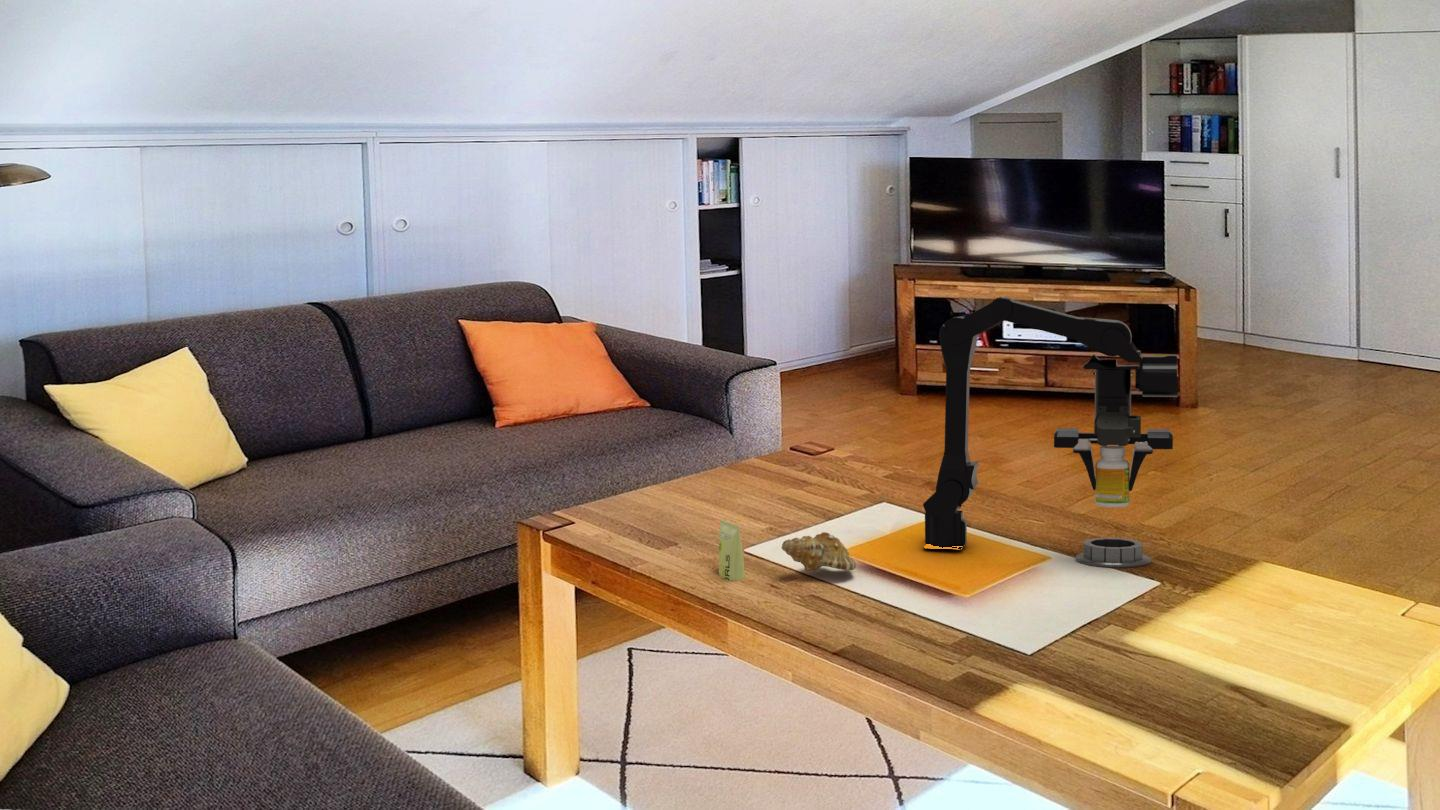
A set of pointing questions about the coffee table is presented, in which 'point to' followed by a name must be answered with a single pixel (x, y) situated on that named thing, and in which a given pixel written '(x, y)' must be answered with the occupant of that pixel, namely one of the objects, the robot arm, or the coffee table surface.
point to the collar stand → (1113, 553)
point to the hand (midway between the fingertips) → (1112, 490)
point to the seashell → (819, 552)
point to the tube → (730, 552)
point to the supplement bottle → (1112, 477)
